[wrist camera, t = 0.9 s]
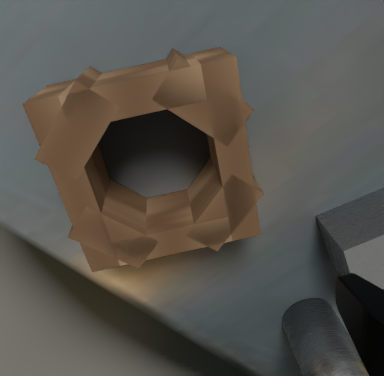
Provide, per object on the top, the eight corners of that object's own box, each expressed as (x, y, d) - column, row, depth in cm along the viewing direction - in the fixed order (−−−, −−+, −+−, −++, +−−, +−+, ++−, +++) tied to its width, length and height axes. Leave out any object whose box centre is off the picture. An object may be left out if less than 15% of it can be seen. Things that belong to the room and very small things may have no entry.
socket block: (227, 35, 18) (245, 42, 15) (251, 203, 23) (269, 239, 19) (35, 78, 18) (7, 95, 15) (96, 237, 23) (86, 280, 19)
